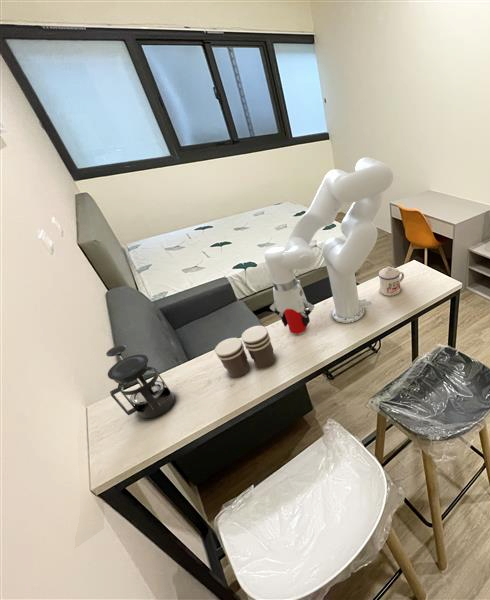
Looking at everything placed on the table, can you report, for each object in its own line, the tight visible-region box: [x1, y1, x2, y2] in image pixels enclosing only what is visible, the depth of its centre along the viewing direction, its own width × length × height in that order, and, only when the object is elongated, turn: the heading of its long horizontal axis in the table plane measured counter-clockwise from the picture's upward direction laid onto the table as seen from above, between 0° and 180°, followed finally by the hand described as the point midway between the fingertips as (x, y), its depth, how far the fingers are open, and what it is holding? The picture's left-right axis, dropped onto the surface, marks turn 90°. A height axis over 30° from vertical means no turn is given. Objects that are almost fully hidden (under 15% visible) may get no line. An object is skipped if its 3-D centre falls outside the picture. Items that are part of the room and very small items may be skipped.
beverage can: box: [284, 309, 308, 335], centre depth 118 cm, size 6×6×12 cm
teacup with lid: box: [378, 266, 405, 297], centre depth 138 cm, size 12×9×12 cm
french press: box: [105, 344, 177, 421], centre depth 88 cm, size 12×9×23 cm
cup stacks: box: [214, 325, 276, 379], centre depth 104 cm, size 16×8×12 cm, turn 116°
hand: (296, 323), depth 119 cm, fingers open, 7 cm apart
